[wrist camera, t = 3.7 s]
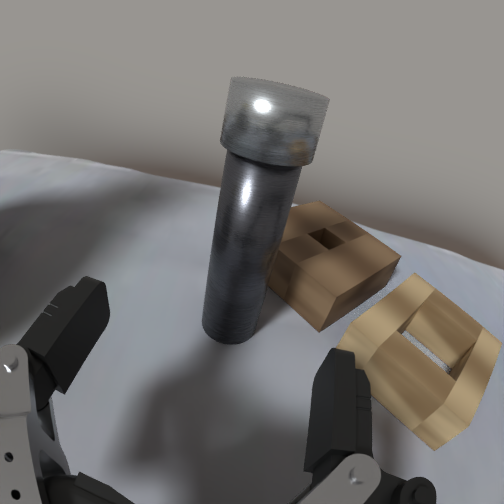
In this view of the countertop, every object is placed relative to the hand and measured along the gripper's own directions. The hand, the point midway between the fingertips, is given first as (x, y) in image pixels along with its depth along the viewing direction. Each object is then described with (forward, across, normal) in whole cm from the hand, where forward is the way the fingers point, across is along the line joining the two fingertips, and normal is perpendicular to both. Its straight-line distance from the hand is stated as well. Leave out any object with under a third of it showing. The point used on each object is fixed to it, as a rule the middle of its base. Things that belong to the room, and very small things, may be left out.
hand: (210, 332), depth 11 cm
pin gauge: (+8, 0, +8) cm, 11 cm away
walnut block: (+16, -6, +8) cm, 19 cm away
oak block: (+8, -14, +8) cm, 18 cm away
